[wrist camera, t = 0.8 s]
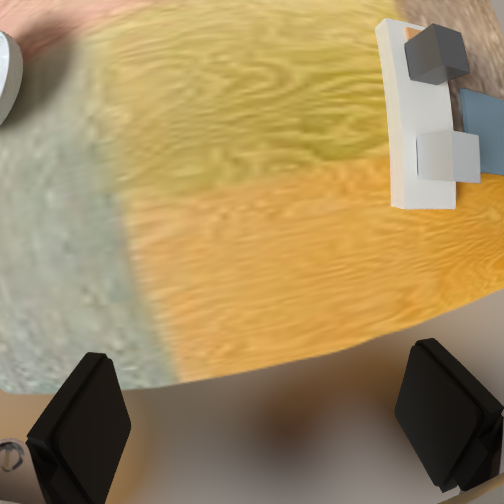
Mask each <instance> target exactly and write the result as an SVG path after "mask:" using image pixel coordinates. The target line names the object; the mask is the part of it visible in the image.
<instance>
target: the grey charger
mask: <svg viewBox="0 0 504 504" xmlns="http://www.w3.org/2000/svg"><path fill="white" fill-rule="evenodd" d="M416 139H417V144H416V150H417V172H418V179H427V180H442V181H456V182H470V183H480V151H479V136H478V135H474V134H468V133H463V132H457V131H445V132H439V133H433V134H427V135H421V136H416Z"/></svg>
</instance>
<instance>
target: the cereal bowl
mask: <svg viewBox="0 0 504 504" xmlns="http://www.w3.org/2000/svg"><path fill="white" fill-rule="evenodd" d="M22 75H23V58H22V53H21V50H20V47H19V45H18V43H17V42H16V41H15V40H14V38H12V37H11V36H9V34H6V33H5V32H3V31H0V125H1V124H2V123H3V121H4V120H5V119H6V117H7V115H8V114H9V112H10V110H11V109H12V106H13V104H14V102H15V100H16V97H17V95H18V92H19V88H20V85H21V81H22Z"/></svg>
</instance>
